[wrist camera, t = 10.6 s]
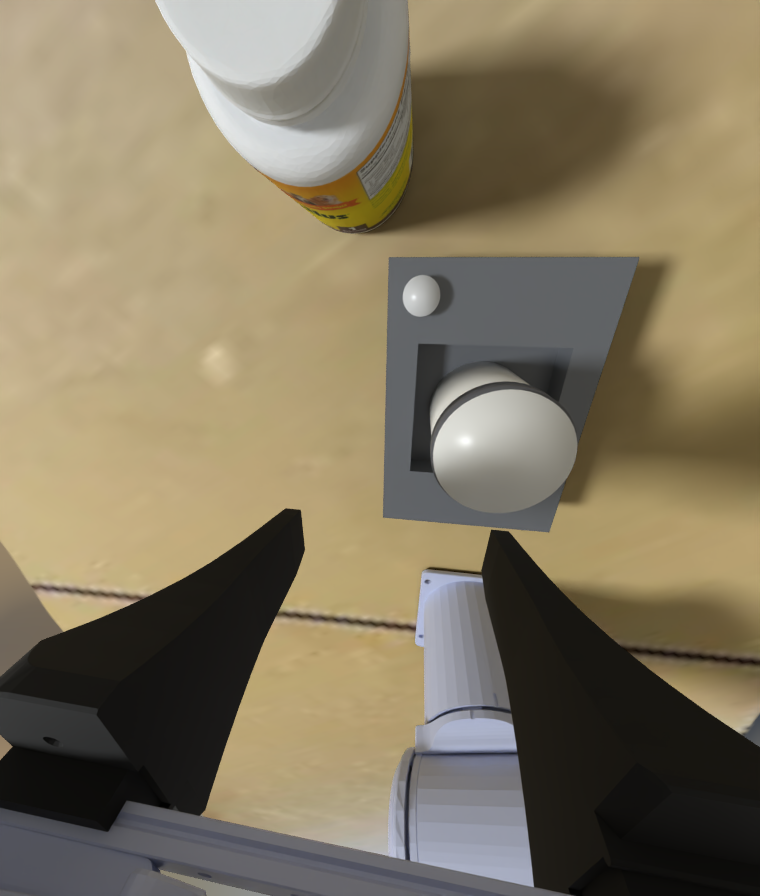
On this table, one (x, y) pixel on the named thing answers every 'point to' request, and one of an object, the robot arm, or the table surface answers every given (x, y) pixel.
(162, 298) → the table surface
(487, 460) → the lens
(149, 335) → the table surface
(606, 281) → the grey panel with knob
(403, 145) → the supplement bottle
